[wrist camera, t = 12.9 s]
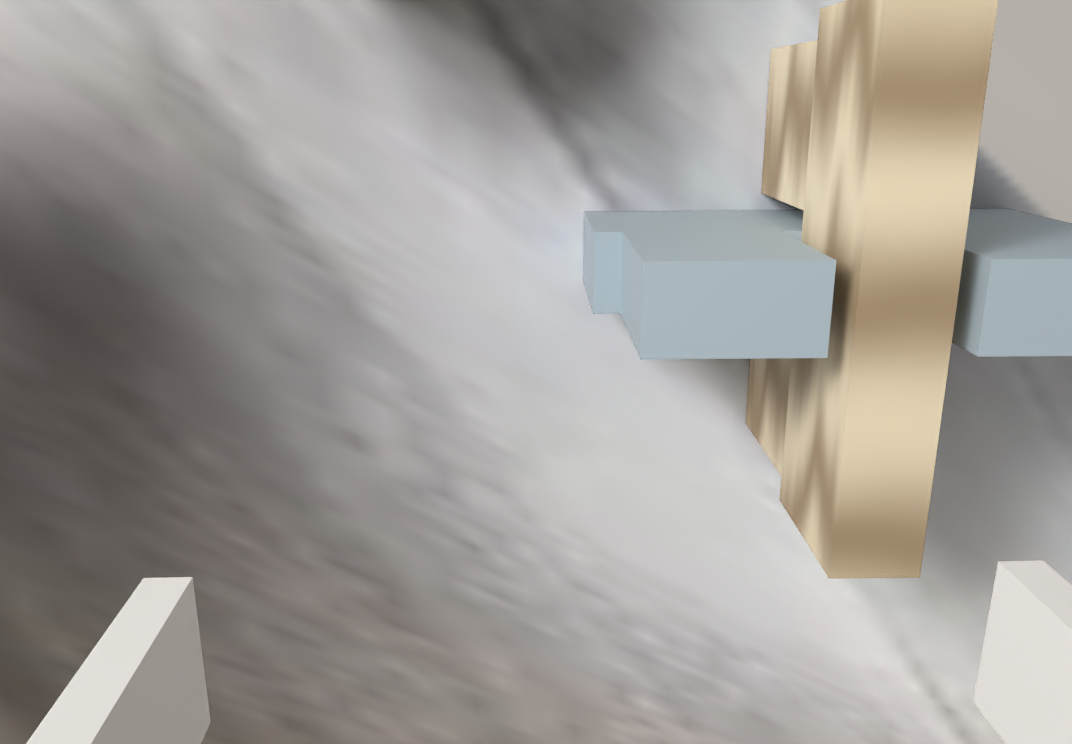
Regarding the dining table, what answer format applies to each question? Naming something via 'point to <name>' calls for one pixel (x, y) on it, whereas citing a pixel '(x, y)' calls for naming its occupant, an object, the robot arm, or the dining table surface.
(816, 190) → the maple board
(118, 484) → the dining table surface
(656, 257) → the slate board
